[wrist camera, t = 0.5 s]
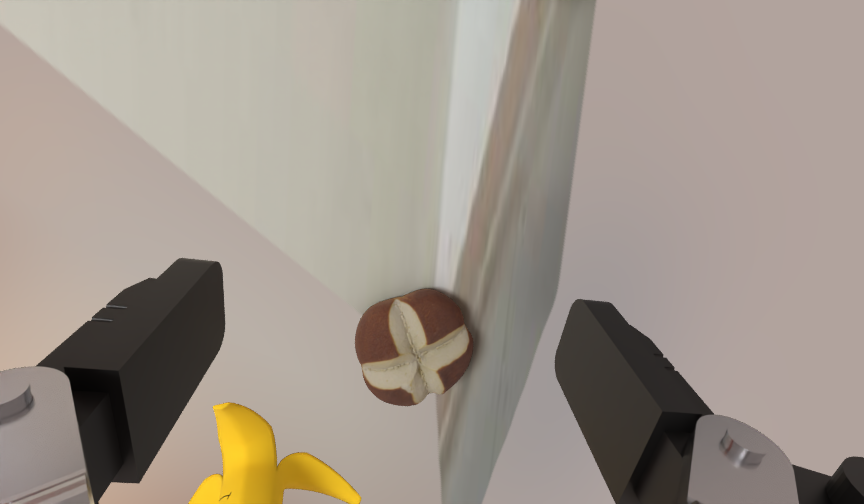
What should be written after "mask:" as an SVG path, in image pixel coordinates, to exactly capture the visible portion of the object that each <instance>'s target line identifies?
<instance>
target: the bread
mask: <svg viewBox="0 0 864 504" xmlns="http://www.w3.org/2000/svg"><path fill="white" fill-rule="evenodd" d="M355 348H356V353H357V357H358V360H359V362H360V364H361V366H362V372H363V378H364V380H365V383H366V385H367V387H368V388H369V390H370V391H371V392H372V393H373V394H374V395H375V396H376V397H377V398H379V399H380V400H382V401H384V402H386V403H390V404H393V405H399V406H411V405H416V404H418V403H420V402H421V401H422V400H423V399H424V398H425V397H426V396H427V395H428V394H429V393H436V394H443V393H445V392H446V391H447V390H448V389H450V388H451V387H452V386H453V385H454V384H455V383H456V382H457V381H458V380H459V379H460V378H461V377H462V375H463V374H464V372H465V371H466V369H467V367H468V365H469V363H470V360H471V357H472V352H473V338H472V335H471V333H470V332H469V330H468V329H467V327H466V326H465V323H464V318H463V315H462V312H461V310H460V308H459V307H458V305H457V304H456V303H455V302H454V301H453V300H452V299H450V298H449V297H448V296H446V295H445V294H443V293H441V292H438V291H436V290H432V289H420V290H416V291H414V292H411V293H409V294H407V295H404V296H402V297H396V298H391V299H388V300H385V301H382V302H379V303H377V304H375V305H373V306H371V307H370V308H369V309H368V310H367V311H366V312H365V313H364V314H363V316H362V318H361V319H360V321H359V324H358V327H357V330H356V336H355Z"/></svg>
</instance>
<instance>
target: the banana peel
mask: <svg viewBox="0 0 864 504" xmlns="http://www.w3.org/2000/svg"><path fill="white" fill-rule="evenodd" d="M213 409H214V412H215V416H216V421H217V428H218V440H219V443H220V447H221V452H222V459H223V476H222V475H220V474H213V475H211V476H209V477H207V478H206V479H204V480H203V482H202V483H201V485H200V486H199V488H198V489H197V491H196V492H195V494H194V495H193V497H192V498H191V500H190V502H189V503H188V504H282V502H283V492H284V489H302V490H309V491H314V492H319V493H323V494H326V495H329V496H332V497H335V498H338V499H340V500H342V501H345V502H346V503H348V504H360V501H361V497H360V495H359V494H358V493H357V492H356V491H355V490H354V489H353V487H352V486H351V485H350V484H349V483H348V482H347V481H346V480H345V479H344V478H343V477H341V476H340V475H339V474H338V473H337V472H336V471H334V470H333V469H332V468H331V467H329V466H328V465H327V464H325V463H324V462H322V461H321V460H319V459H318V458H316V457H314V456H313V455H311V454H309V453H307V452H298V453H293V454H290V455H288V456H286V457H285V458H284V459H282V460H281V462H280V463H279V465H278V466H277V455H276V444H275V438H274V433H273V429H272V426H271V425H270V424H269V423H268V422H267V421H266V420H265V419H263V418H262V417H261V416H260V415H258V414H257V413H256V412H254V411H253V410H251V409H249V408H247V407H244V406H242V405H239V404H235V403H230V402H228V403H223V404H219V405H215V406H213Z"/></svg>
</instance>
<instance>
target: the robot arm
mask: <svg viewBox="0 0 864 504" xmlns="http://www.w3.org/2000/svg"><path fill="white" fill-rule="evenodd" d="M224 311H225V310H224V291H223V273H222V268H221V265H220V263H219V262H216V261H206V260H195V259H186V258H179V259H178V260H176V261H175V262H174V263H173V264H172V265H171V266H170V267H169V268H168V269H167V270H166V271H165V272H164V273H163V274H161V275H160V276H159V277H158V278H157V279H154V278H148V279H146V280H144V281H142V282H140V283H137V284H135V285H133V286H131V287H128V288H126V289H124V290H123V291H122V292H121V293H119V294H118V295H117V296H116V297H115V298H114V299H113V300H111V301H110V302H109V303H108V304H107V306H106V308H102V309H101V310H100V311H99V312H98V313H96V314H95V315H94V316H93V317H92V320H91V321H87V322H86V323H85V324H84V325H83V326H81V327H80V328H79V329H78V330H77V331H76V332H74V333H73V334H72V335H71V336H70V337H69V338H68V339H66V340H65V341H64V342H63V343H62V344H61V345H60V346H58V347H57V348H56V349H55V350H54V351H53V352H51V353H50V354H49V355H48V356H47V357H46V358H45V359H44V360H42V361H41V362H40V363H39V364H38V365H37V366H34V367H21V368H14V369H9V370H4V371H0V504H99V500H100V498H101V497H102V495H103V494H104V492H105V491H106V489H107V488H108V486H109V485H110V483H111V482H120V483H140V481H141V479H142V478H143V476H144V474H145V473H146V471H147V469H148V468H149V466H150V464H151V463H152V461H153V459H154V458H155V456H156V454H157V453H158V451H159V449H160V448H161V446H162V444H163V443H164V441H165V440H166V438H167V436H168V434H169V433H170V431H171V430H172V428H173V426H174V425H175V423H176V421H177V420H178V418H179V416H180V415H181V413H182V411H183V410H184V408H185V406H186V405H187V403H188V402H189V400H190V398H191V397H192V395H193V393H194V391H195V390H196V388H197V386H198V385H199V383H200V382H201V380H202V378H203V376H204V375H205V373H206V372H207V370H208V368H209V367H210V365H211V363H212V362H213V360H214V358H215V357H216V355H217V353H218V351H219V350H220V347H221V345H222V341H223V337H224V332H225V312H224ZM555 372H556V377H557V380H558V382H559V384H560V386H561V388H562V390H563V392H564V395H565V397H566V399H567V401H568V403H569V405H570V407H571V410H572V411H573V414H574V416H575V418H576V420H577V422H578V424H579V427H580V428H581V431H582V433H583V435H584V437H585V439H586V441H587V444H588V446H589V448H590V450H591V452H592V454H593V456H594V458H595V461H596V463H597V465H598V467H599V469H600V471H601V473H602V476H603V478H604V480H605V482H606V484H607V486H608V488H609V490H610V493H611V495H612V497H613V499H614V501H615V503H616V504H864V458H863V457H849V458H846V459H845V460H844V461H843V462H842V464H841V465H840V466H839V468H838V469H837V471H836V472H835V473H834V474H833V476H832V477H831V476H828V475H825V474H821V473H818V472H815V471H812V470H808V469H805V468H802V467H798V466H795V465H792V464H791V462H790V460H789V459H788V457H787V456H786V455H785V453H784V452H783V451H782V450H781V449H780V448H779V447H778V446H777V445H776V444H775V443H774V442H773V441H771V440H770V439H769V438H768V437H766V436H765V435H764V434H762V433H761V432H759V431H758V430H756V429H754V428H752V427H751V426H749V425H747V424H745V423H743V422H740V421H738V420H736V419H733V418H730V417H726V416H722V415H714V413H713V412H712V411H711V410H710V409H709V408H708V406H707V405H706V404H705V403H704V402H703V400H702V399H701V398H700V397H699V396H698V395H697V393H696V392H695V391H694V390H693V389H692V388H691V386H690V385H689V384H688V383H687V382H686V381H685V379H684V378H683V377H682V376H681V375H680V374H679V372H678V371H675V370H674V366H673V365H672V364H671V363H670V362H669V361H668V359H667V358H663V354H662V352H661V351H660V350H659V349H658V348H657V347H656V345H655V344H654V343H653V342H652V341H651V340H650V339H649V338H648V337H647V336H645V335H644V334H642V333H641V332H639V331H638V330H637V329H635V328H634V327H632V326H631V325H629V324H628V323H627V321H626V320H625V319H624V318H623V317H622V315H621V314H620V313H619V312H618V311H617V309H616V308H615V307H614V306H613V305H612V304H611V303H609V302H602V301H592V300H582V299H577V300H576V301H575V302H574V303H573V304H572V307H571V309H570V312H569V315H568V318H567V321H566V324H565V327H564V330H563V333H562V336H561V339H560V342H559V345H558V349H557V351H556V356H555Z"/></svg>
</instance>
